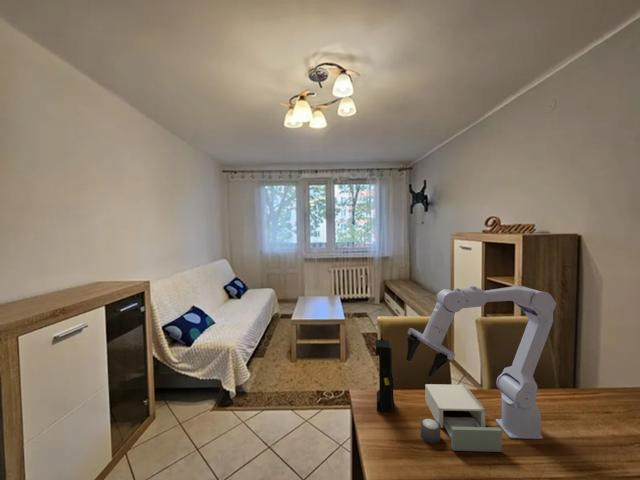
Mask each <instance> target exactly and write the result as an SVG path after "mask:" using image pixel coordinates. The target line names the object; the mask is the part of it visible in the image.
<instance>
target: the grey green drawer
mask: <svg viewBox="0 0 640 480" xmlns="http://www.w3.org/2000/svg"><path fill="white" fill-rule="evenodd" d="M443 428H444V429H445V430H446V432H447V434H448V436H449V438H450V441H451V442H450V447H451V449H452V451H463V452H464V451H465V452H488V453H489V452H495V453H497V452H498V453H499V452H500V453H502V451H503V443H502V442H503V436H502V435H503V433H502V432H503V429H502V428H501V427H492V426H491V427H486V426H485V427H481V426H480V425H479V424H478V422H477V421H476V419H475V418H473V417H472V416H470V417H467V416H463V417H462V416H461V417H460V416H443Z"/></svg>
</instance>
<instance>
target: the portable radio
mask: <svg viewBox="0 0 640 480" xmlns="http://www.w3.org/2000/svg"><path fill="white" fill-rule="evenodd" d="M380 335H381V336H380V339H376V340H375V353H376V354H375V355H377V356H378V363H379V364H378V369H379V370H378V375H379V377H378V378H379V380H378V381H379V384H378V385H379V386H378V387H379V388H378V390H377V391H376V410H377V411H379V412H386V413H393V412H394V411H395V400H394V399H395V398H394V387H395V386H394V378H393V372H392V371H393V368H392V367H393V364H392V362H393V361H392V359H393V358H392V354H393V353H392V343H391V341H390V339H384V338H383V332H382V333H380Z"/></svg>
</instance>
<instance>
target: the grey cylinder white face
mask: <svg viewBox="0 0 640 480" xmlns="http://www.w3.org/2000/svg"><path fill="white" fill-rule="evenodd" d="M420 437H421V439H422V440H423V441H424V442H425V443H428V444H432V445H433V444H434V445H437V444H439V443H440V442H441V428H440V424H439V423H438V422H437V421H436V420H435V419H434V418H431V417H424V418H421V420H420Z"/></svg>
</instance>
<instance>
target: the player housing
mask: <svg viewBox="0 0 640 480" xmlns="http://www.w3.org/2000/svg"><path fill="white" fill-rule="evenodd" d="M424 386H425V388H424V389H425V391H424V392H425V393H424V395H425V397H424V398H425V403H426V404H427V407H428V409H429V410H430V413H431V414H432V416H433V419H434V420H436V421H437V422H438V423H439V424H440V429H443V428H444V425H443V417H444V411H456V412H457V411H458V412H469V414H470V415H471V418H475V419H476V421H477V422H478V424H479V425H480V426H481V427H486V408H485V407H484V406H483V405H482V403H481V402H480V401H479V399H477V398H476V397H475V395H474V394H473V392H472V391H471V390H470V389H469V387H468V386H467V385H466V384H445V383H443V384H439V383H438V384H436V383H435V384H434V383H433V384H432V383H429V384H428V383H426V384H424Z"/></svg>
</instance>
